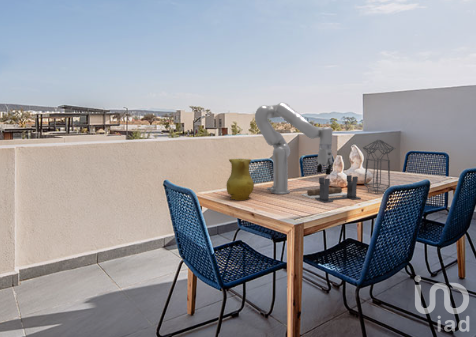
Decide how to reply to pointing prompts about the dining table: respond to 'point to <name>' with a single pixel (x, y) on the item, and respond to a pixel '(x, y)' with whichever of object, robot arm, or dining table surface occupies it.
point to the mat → (329, 195)
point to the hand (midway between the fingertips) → (323, 173)
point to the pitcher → (240, 180)
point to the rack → (350, 195)
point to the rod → (331, 191)
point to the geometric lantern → (377, 163)
